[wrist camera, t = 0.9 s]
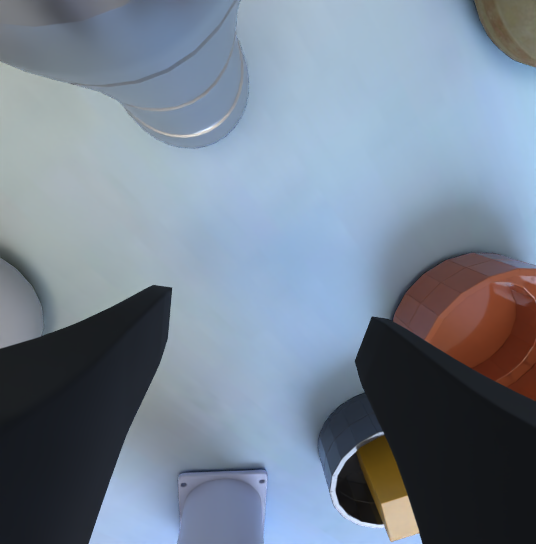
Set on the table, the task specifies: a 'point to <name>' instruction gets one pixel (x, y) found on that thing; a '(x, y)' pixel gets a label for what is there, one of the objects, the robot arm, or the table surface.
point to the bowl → (479, 316)
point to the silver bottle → (139, 59)
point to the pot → (350, 460)
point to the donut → (18, 308)
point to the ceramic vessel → (511, 27)
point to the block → (387, 488)
